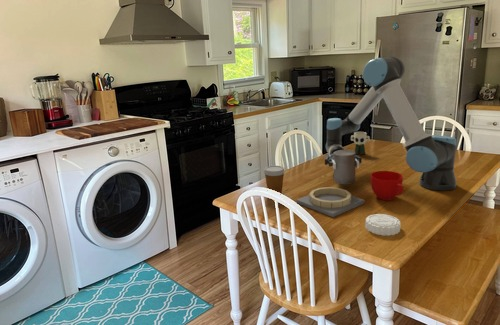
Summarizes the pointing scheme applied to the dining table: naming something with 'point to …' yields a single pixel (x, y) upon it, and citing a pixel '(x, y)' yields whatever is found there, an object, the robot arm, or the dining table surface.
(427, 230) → the dining table surface
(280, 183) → the disposable coffee cup
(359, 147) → the character mug
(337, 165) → the pillar candle
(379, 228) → the mooncake
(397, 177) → the ceramic cup
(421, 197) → the dining table surface
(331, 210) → the board
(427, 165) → the robot arm
